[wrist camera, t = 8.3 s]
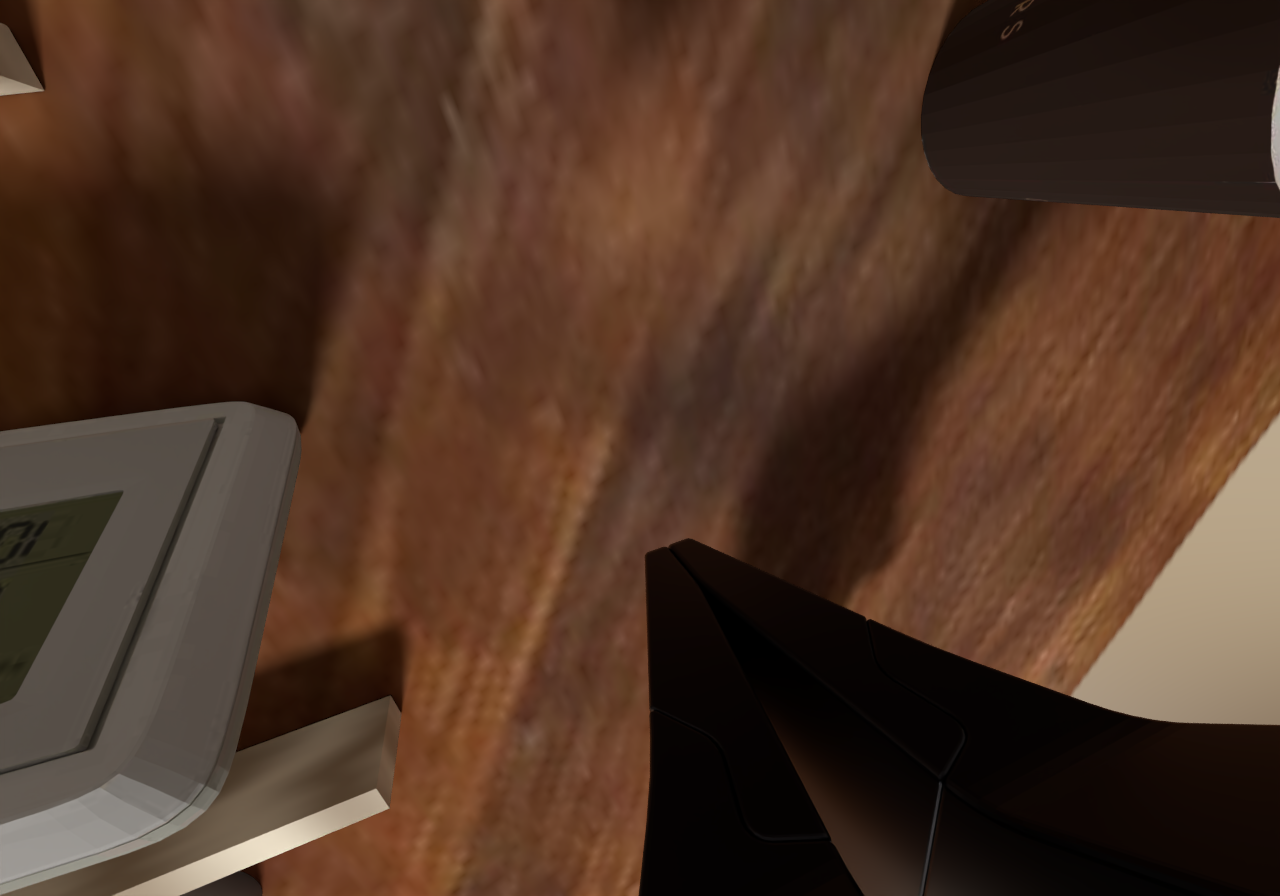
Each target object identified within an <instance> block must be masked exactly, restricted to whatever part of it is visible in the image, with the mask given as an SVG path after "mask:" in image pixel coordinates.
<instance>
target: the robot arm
mask: <svg viewBox="0 0 1280 896" xmlns="http://www.w3.org/2000/svg"><path fill="white" fill-rule="evenodd" d="M645 577H646V609H647V642H648V674H649V706H650V715H649V717H650V782H649V796H648V809H647V823H646V832H645V841H644V851H643V860H642V870H641V879H640V889H639V896H1280V725H1253V724H1252V725H1251V724H1206V723H1177V722H1168V721H1158V720H1152V719H1147V718H1142V717H1136V716H1131V715H1128V714H1124V713H1119V712H1116V711H1112V710H1108V709H1105V708H1102V707H1099V706H1097V705H1093V704H1090V703H1087V702H1085V701H1082V700H1079V699H1076V698H1074V697H1071V696H1068V695H1065V694H1062V693H1060V692H1057V691H1054V690H1051V689H1048V688H1046V687H1043V686H1040V685H1037V684H1035V683H1032V682H1029V681H1026V680H1023V679H1021V678H1018V677H1015V676H1012V675H1009V674H1007V673H1004V672H1001V671H998V670H996V669H993V668H990V667H987V666H984V665H982V664H979V663H976V662H973V661H971V660H968V659H966V658H963V657H960V656H958V655H955V654H952V653H950V652H947V651H944V650H942V649H939V648H937V647H934V646H931V645H929V644H927V643H924V642H922V641H920V640H917V639H915V638H913V637H910V636H908V635H905V634H903V633H901V632H898V631H896V630H894V629H891V628H889V627H887V626H885V625H883V624H880V623H878V622H876V621H874V620H871V619H869V620H868V621H867V620H866V618H865V617H864V616H862V615H860V614H858V613H855V612H853V611H851V610H849V609H847V608H844V607H842V606H840V605H838V604H835V603H833V602H831V601H829V600H827V599H824V598H822V597H820V596H818V595H815V594H813V593H811V592H809V591H807V590H804V589H802V588H800V587H798V586H795V585H793V584H791V583H789V582H787V581H784V580H782V579H780V578H778V577H775V576H773V575H771V574H769V573H767V572H764V571H762V570H760V569H758V568H755V567H753V566H751V565H749V564H747V563H744V562H742V561H740V560H738V559H735V558H733V557H731V556H729V555H727V554H724V553H722V552H720V551H718V550H715V549H713V548H711V547H709V546H707V545H704V544H702V543H700V542H698V541H695V540H693V539H689V538H688V539H684V540H681V541H679V542H676V543H673V544H671V545H669V547H668V548H667V547H661V548H658V549H656V550H653V551H650V552H647V553H646V555H645Z"/></svg>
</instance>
